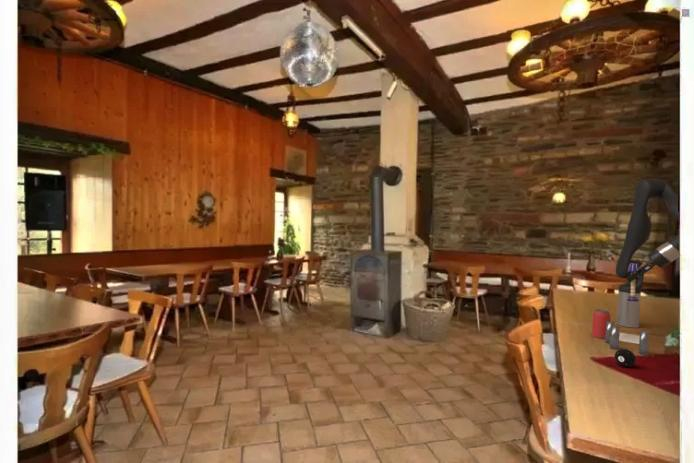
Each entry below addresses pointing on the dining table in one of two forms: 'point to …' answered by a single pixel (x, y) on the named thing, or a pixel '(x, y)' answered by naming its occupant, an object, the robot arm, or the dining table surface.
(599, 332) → the beer can
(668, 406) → the dining table surface
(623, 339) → the ceramic tile
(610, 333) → the spacer posts
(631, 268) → the toy lamp
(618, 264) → the robot arm
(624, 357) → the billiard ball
